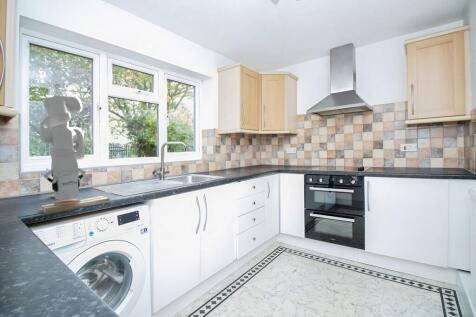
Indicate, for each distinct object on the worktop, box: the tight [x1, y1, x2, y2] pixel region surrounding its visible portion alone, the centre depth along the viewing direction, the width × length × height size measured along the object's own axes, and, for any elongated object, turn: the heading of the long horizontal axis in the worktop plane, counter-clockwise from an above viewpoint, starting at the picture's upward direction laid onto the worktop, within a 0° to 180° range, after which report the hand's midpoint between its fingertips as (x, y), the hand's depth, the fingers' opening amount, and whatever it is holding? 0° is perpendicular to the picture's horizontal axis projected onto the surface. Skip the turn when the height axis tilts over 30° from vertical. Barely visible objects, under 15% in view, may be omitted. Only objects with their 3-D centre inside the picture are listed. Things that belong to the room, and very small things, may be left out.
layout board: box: [40, 195, 111, 215], centre depth 115 cm, size 11×26×3 cm, turn 139°
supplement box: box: [54, 172, 80, 201], centre depth 112 cm, size 7×7×13 cm
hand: (66, 189), depth 112 cm, fingers closed on supplement box, 8 cm apart
